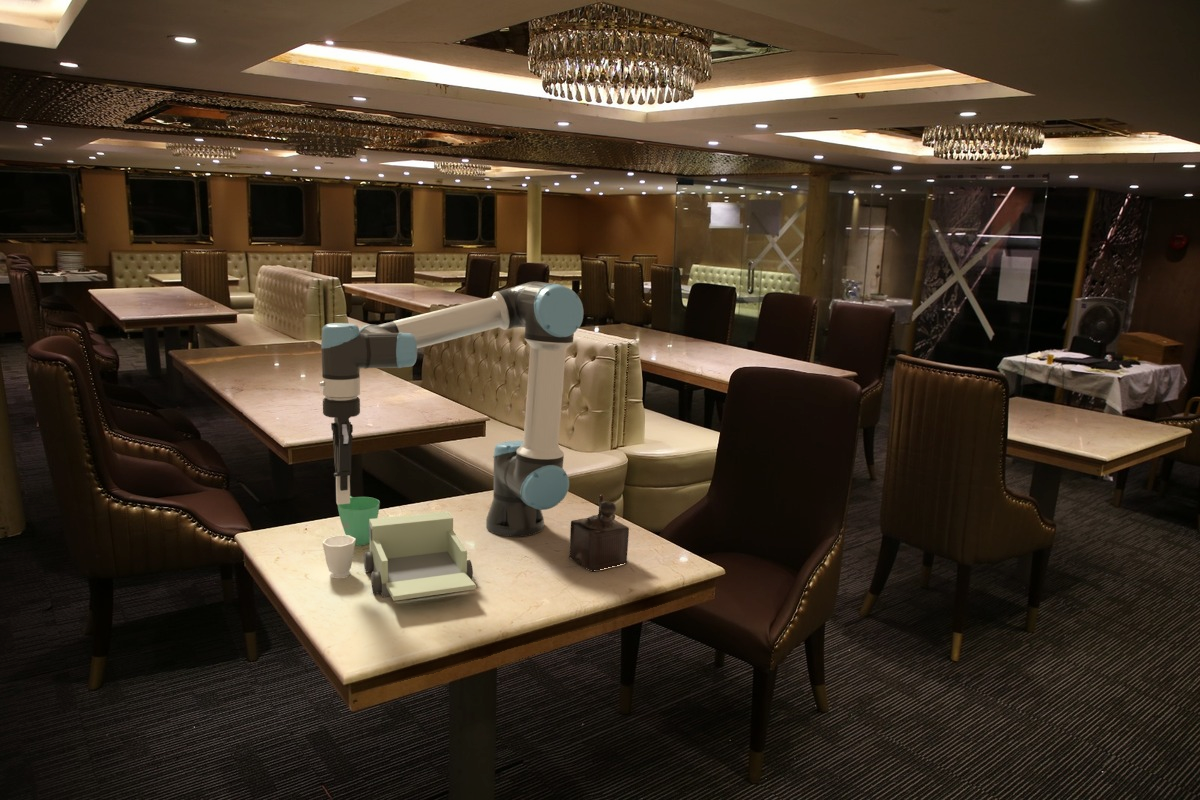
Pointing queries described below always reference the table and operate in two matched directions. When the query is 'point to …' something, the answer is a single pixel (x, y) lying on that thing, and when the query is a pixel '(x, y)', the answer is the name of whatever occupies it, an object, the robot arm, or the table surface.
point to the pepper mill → (599, 539)
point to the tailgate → (430, 586)
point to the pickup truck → (413, 549)
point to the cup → (339, 555)
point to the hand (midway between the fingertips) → (343, 502)
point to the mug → (358, 517)
